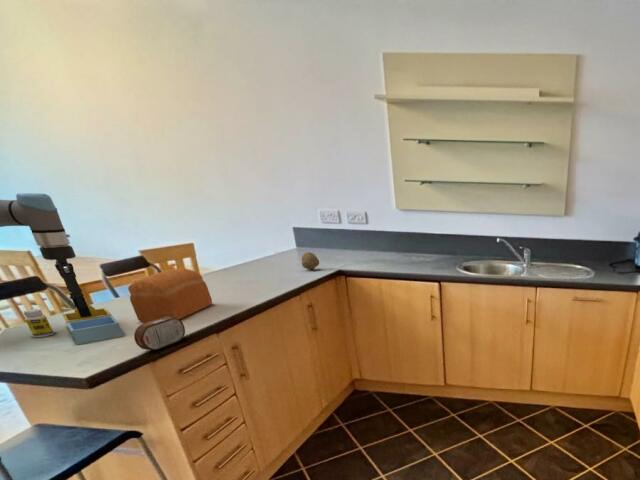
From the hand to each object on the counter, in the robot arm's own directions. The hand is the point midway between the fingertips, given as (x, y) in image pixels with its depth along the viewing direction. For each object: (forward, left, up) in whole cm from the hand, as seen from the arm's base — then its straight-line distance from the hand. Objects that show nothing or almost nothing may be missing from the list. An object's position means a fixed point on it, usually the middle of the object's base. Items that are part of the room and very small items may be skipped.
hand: (84, 313), depth 144 cm
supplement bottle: (0, -12, -5) cm, 13 cm away
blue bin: (+14, 0, -5) cm, 14 cm away
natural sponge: (-43, +99, -5) cm, 109 cm away
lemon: (0, 0, -5) cm, 5 cm away
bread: (+2, +25, -5) cm, 26 cm away
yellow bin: (0, 0, -5) cm, 5 cm away
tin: (+40, +13, -5) cm, 42 cm away
